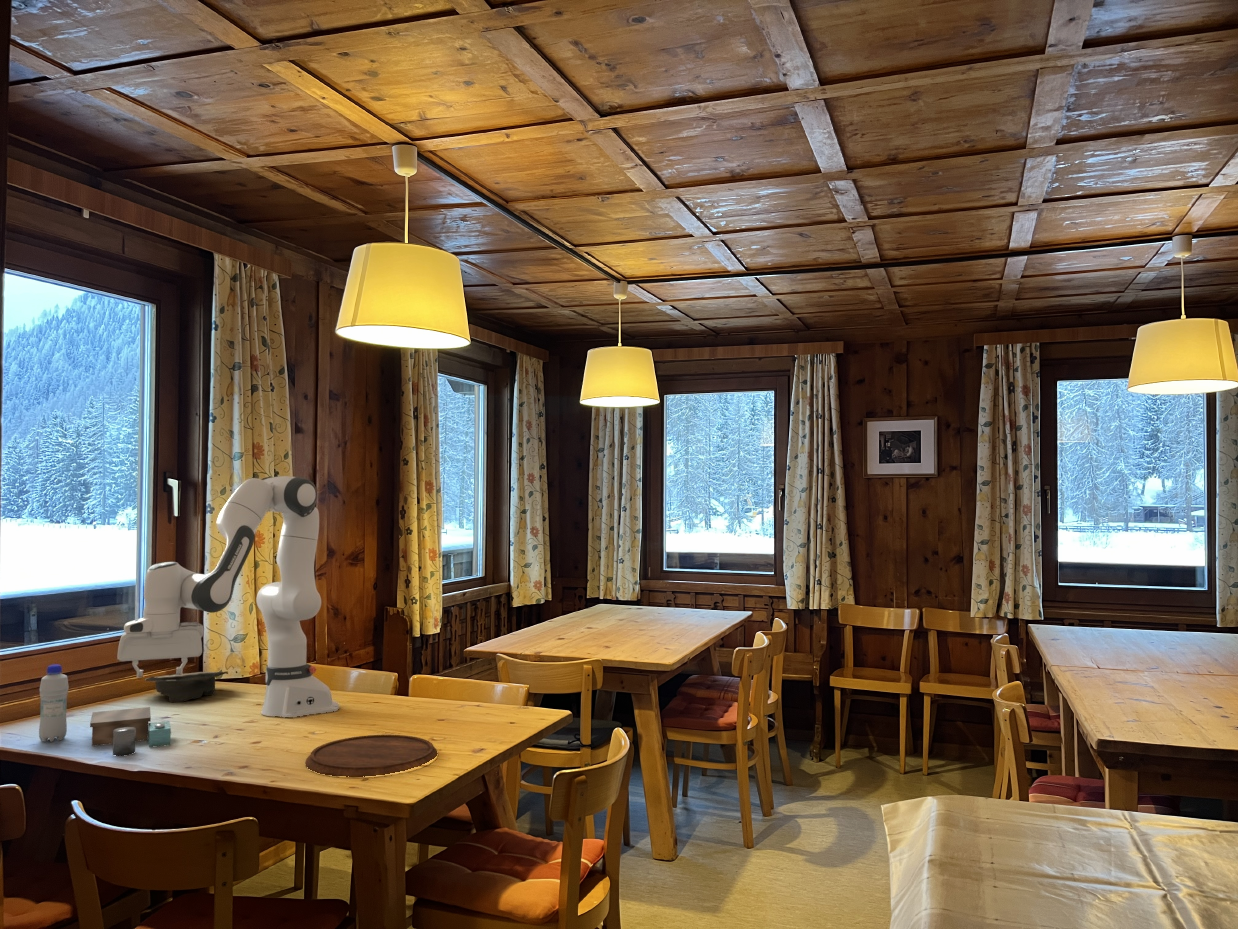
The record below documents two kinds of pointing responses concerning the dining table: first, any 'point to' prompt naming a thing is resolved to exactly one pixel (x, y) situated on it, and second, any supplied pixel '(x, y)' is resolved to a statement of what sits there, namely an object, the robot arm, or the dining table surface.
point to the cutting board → (370, 755)
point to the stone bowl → (186, 685)
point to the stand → (119, 724)
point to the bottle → (53, 704)
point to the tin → (124, 741)
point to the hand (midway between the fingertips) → (159, 675)
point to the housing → (159, 733)
